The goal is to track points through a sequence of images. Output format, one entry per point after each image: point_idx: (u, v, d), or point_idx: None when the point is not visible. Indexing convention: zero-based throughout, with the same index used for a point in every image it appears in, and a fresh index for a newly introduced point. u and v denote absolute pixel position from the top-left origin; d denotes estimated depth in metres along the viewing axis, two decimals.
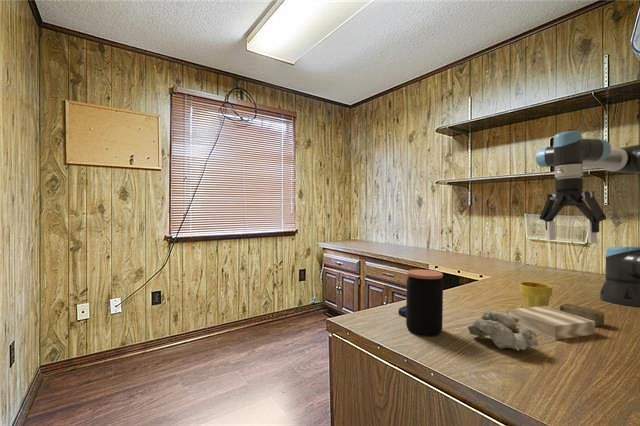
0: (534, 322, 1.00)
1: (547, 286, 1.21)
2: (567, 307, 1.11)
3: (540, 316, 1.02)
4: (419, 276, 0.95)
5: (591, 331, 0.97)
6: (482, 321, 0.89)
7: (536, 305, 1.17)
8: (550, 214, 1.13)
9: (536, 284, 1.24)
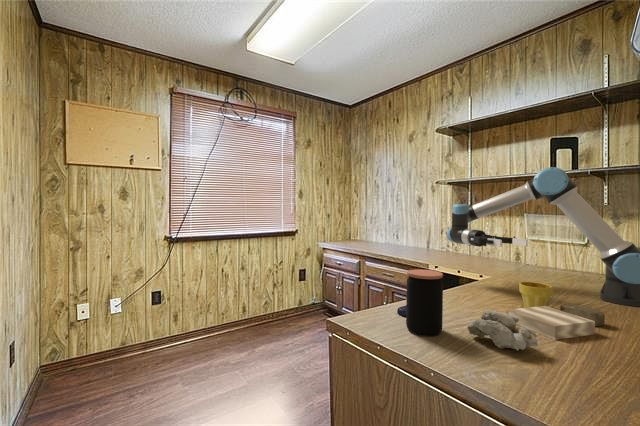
0: (534, 322, 1.00)
1: (547, 286, 1.21)
2: (567, 307, 1.11)
3: (540, 316, 1.02)
4: (419, 276, 0.95)
5: (591, 331, 0.97)
6: (481, 321, 0.89)
7: (536, 305, 1.17)
8: None
9: (536, 284, 1.24)
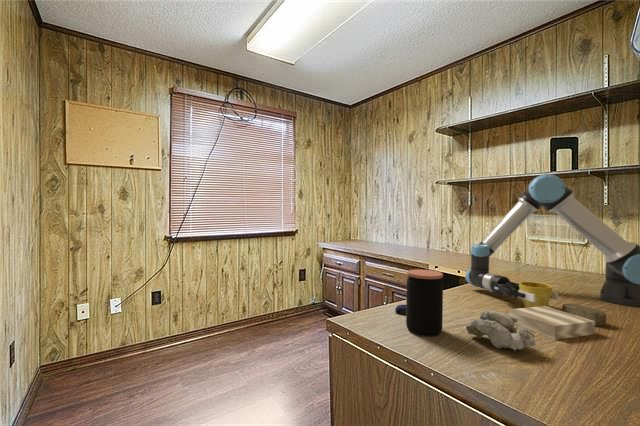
0: (534, 322, 1.00)
1: (547, 286, 1.21)
2: (569, 306, 1.11)
3: (540, 316, 1.02)
4: (419, 276, 0.95)
5: (591, 331, 0.97)
6: (480, 321, 0.89)
7: (536, 305, 1.17)
8: None
9: (536, 284, 1.24)
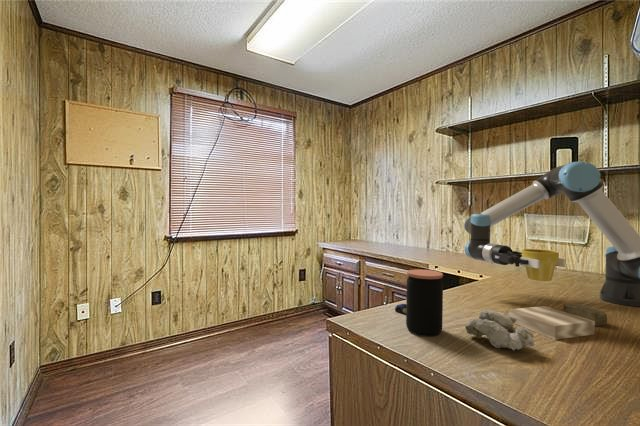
0: (534, 322, 1.00)
1: (553, 252, 1.09)
2: (569, 306, 1.12)
3: (540, 316, 1.02)
4: (419, 276, 0.95)
5: (591, 331, 0.97)
6: (478, 320, 0.89)
7: (541, 272, 1.06)
8: None
9: (541, 251, 1.13)
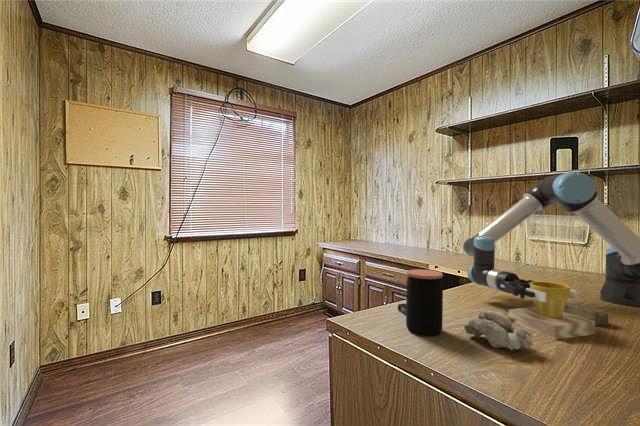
0: (534, 322, 1.00)
1: (563, 286, 1.03)
2: (571, 306, 1.12)
3: (540, 316, 1.02)
4: (419, 276, 0.95)
5: (591, 331, 0.97)
6: (477, 320, 0.90)
7: (551, 308, 1.00)
8: None
9: (550, 284, 1.07)
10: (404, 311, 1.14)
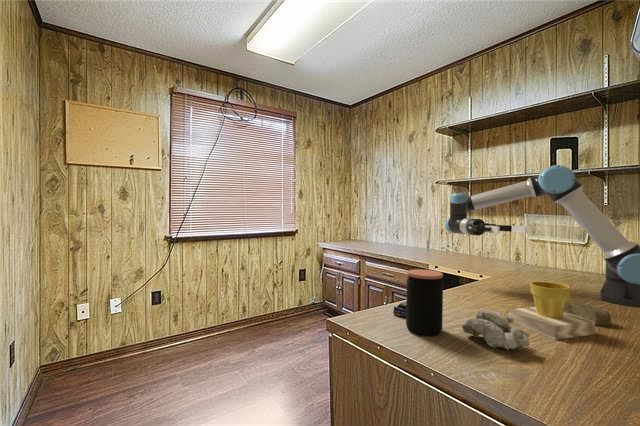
0: (534, 322, 1.00)
1: (563, 286, 1.03)
2: (574, 305, 1.13)
3: (540, 316, 1.02)
4: (419, 276, 0.95)
5: (591, 331, 0.97)
6: (474, 320, 0.90)
7: (551, 309, 1.00)
8: None
9: (550, 284, 1.07)
10: None
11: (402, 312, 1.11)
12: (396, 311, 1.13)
